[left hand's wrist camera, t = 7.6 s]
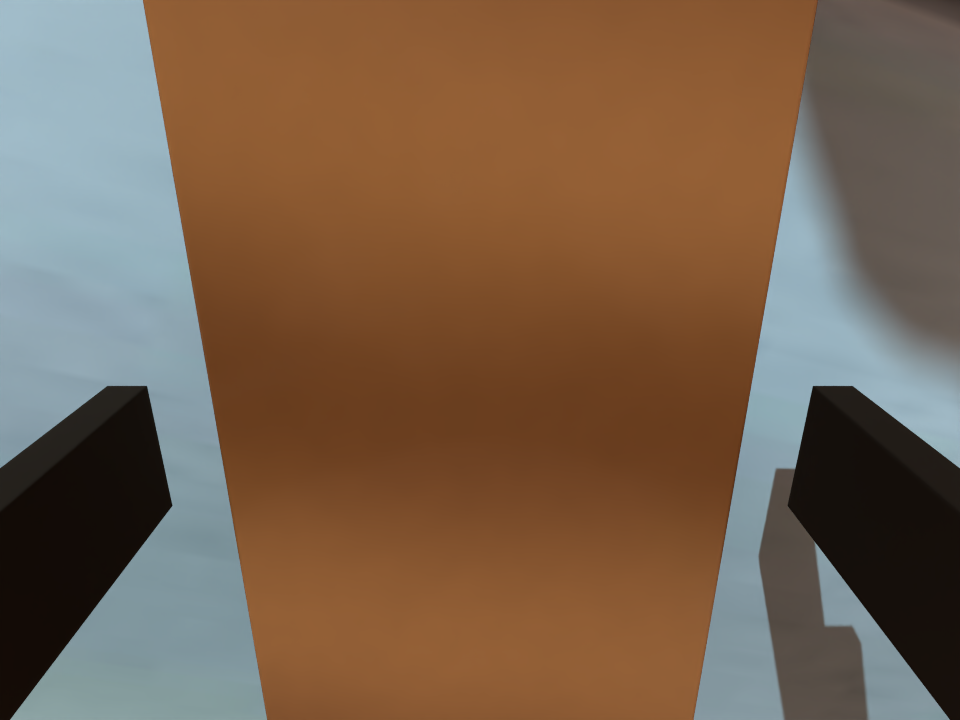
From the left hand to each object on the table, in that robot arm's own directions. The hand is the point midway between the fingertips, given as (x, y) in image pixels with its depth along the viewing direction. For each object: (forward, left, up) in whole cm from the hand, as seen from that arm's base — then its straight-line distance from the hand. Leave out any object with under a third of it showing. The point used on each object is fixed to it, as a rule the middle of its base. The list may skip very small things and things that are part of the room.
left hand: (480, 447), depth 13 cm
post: (+23, +17, -3) cm, 28 cm away
